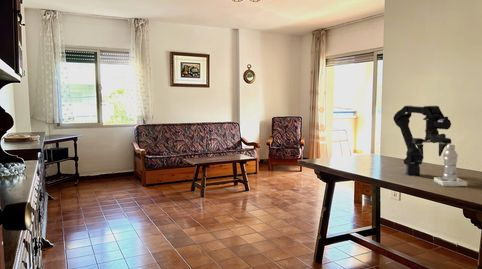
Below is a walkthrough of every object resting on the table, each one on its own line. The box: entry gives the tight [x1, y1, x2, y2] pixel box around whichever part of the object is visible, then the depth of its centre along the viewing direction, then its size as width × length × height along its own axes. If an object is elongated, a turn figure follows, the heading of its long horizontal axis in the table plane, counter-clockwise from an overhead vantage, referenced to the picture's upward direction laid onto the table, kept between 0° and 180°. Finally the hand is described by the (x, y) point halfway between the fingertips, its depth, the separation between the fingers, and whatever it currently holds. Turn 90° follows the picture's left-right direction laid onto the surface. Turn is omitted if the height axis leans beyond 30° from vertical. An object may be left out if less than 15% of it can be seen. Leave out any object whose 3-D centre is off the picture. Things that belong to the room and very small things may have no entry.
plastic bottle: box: [442, 144, 459, 182], centre depth 182 cm, size 6×7×20 cm
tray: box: [433, 176, 468, 188], centre depth 183 cm, size 12×11×2 cm
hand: (430, 156), depth 194 cm, fingers open, 9 cm apart
